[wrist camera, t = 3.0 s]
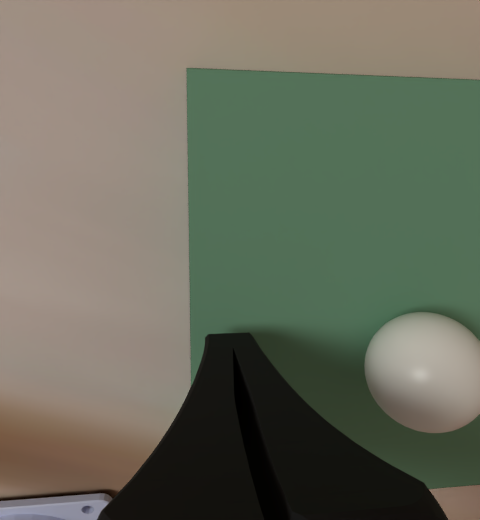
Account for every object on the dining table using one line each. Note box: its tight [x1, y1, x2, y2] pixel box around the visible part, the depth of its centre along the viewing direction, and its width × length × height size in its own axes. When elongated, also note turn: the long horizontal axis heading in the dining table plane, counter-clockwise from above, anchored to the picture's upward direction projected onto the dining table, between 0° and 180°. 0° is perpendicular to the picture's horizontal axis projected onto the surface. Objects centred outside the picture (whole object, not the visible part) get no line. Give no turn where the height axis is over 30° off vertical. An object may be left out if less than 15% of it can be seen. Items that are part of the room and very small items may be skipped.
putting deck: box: [187, 68, 480, 489], centre depth 15 cm, size 19×16×2 cm
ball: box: [364, 312, 480, 433], centre depth 13 cm, size 4×4×4 cm
